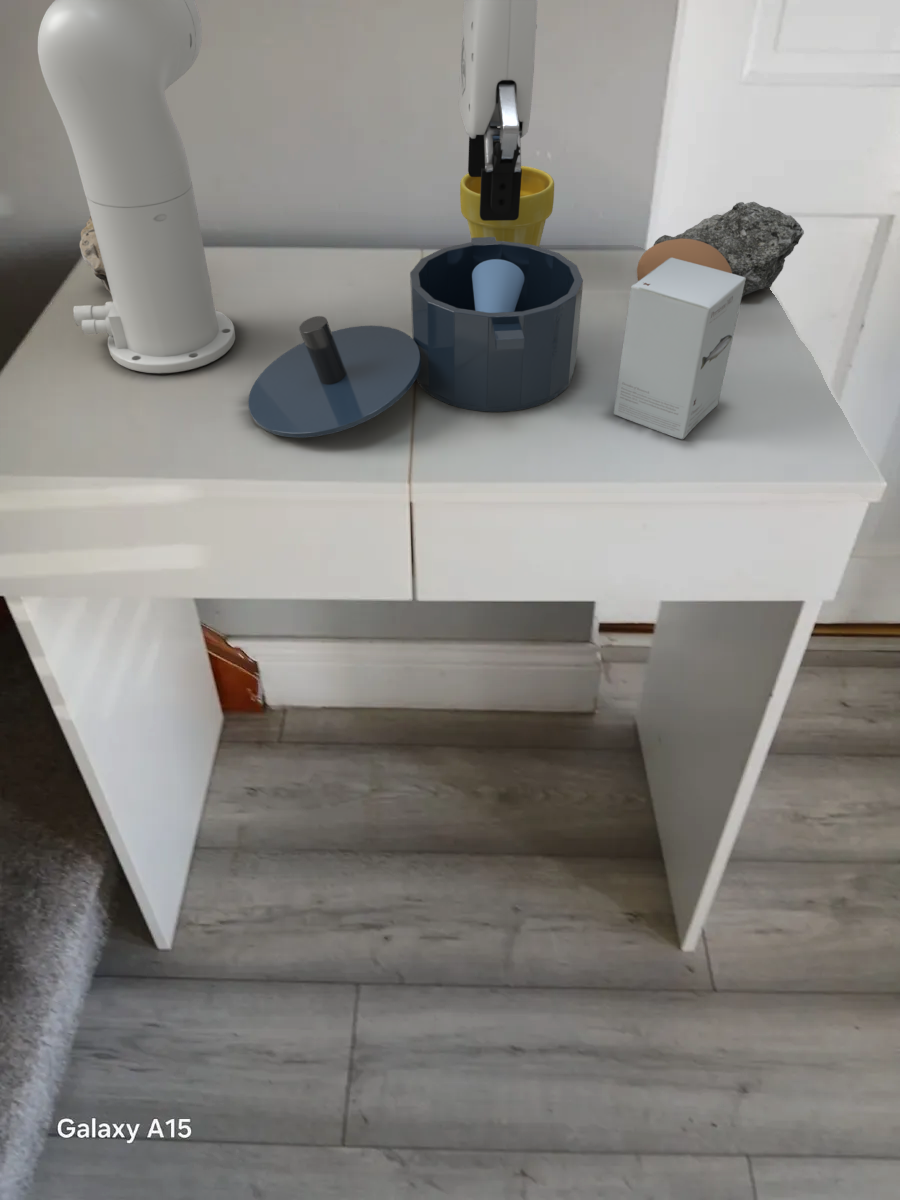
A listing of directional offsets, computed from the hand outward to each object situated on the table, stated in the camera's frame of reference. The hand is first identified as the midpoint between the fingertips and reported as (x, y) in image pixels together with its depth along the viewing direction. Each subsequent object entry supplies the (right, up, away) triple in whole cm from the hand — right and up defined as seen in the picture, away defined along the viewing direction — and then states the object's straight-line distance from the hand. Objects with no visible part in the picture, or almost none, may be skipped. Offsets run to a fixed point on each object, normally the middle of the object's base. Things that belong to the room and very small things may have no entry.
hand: (492, 196), depth 83 cm
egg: (+25, -4, +14) cm, 29 cm away
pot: (+1, -12, +11) cm, 17 cm away
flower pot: (+3, +4, +28) cm, 29 cm away
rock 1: (-39, 0, +25) cm, 47 cm away
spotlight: (+1, -12, +11) cm, 16 cm away
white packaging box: (+16, -18, +6) cm, 25 cm away
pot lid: (-14, -15, +6) cm, 21 cm away
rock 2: (+25, +3, +19) cm, 32 cm away
